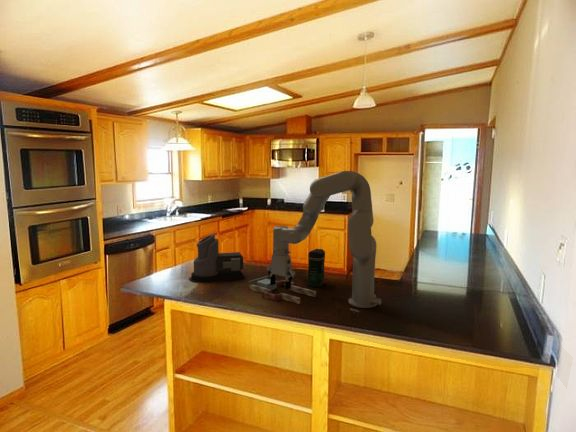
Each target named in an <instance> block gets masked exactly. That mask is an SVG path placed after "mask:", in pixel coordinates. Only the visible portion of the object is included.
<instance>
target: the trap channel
mask: <svg viewBox="0 0 576 432" xmlns="http://www.w3.org/2000/svg"><path fill="white" fill-rule="evenodd" d="M263 279H269V275H265V276H262V277H258V278H255V279H252V280H248V281H247V283H248V285H247V286H248V287H247V289H248V290H250V291H253V292H255V293H256V292H257V293H260V294H262V298H263V299H267V300H271V301H273V302H279V301H281V300H283V301H287V302H291V303H293V304H297V305H300V304H301V297H298V296H295V295H292V294H289V293H284V292H280V293H276V294H274V293H273V290H270V289H267V288H263V287H260V286H257V281H260V280H263ZM286 281H287V280H286V279H285V280H284V279H281V280H276V288H279V287H282V286H283V287H286ZM286 290H288V291H291V292H295V293H298V294H302V295H306V296H309V297H312V298H316V297H317V291H316V290H312V289H309V288H305V287H301V286H296V282H293V281H291V288H290V289H286Z"/></svg>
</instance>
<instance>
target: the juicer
mask: <svg viewBox="0 0 576 432" xmlns="http://www.w3.org/2000/svg"><path fill="white" fill-rule="evenodd" d="M215 237H216V234H215V233H212V234H209V235H207V236H205V237H203V238H202V239H201V240H199V241H198V242H197V244H196V247H197V257H196V258H194V260H193V272H191V276H190V277H189V278H188V280H189V282H190V283H193V284H194V283H195V284H196V283H197V284H199V283H201V284H202V283H204V284H206V283H215V282H219V281H220V280H221V281H232V280H231V279H235V280H243V279H242V278H246V276H245V275H244V274H243V272H242V271H243V269H244V256H243V254H241V252H237V251H236V252H219V238H215Z"/></svg>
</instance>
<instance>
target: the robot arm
mask: <svg viewBox="0 0 576 432" xmlns="http://www.w3.org/2000/svg"><path fill="white" fill-rule="evenodd" d="M348 191H349V192H351V209H352V213H351V214H350V216H349V218H348V222H347V233H348V246H349V251H350V252H349V253H350V254H351V255H352V256H353V259H352V282H351V283H352V285H351V286H352V287H351V289H352V290H351V297H349V299H347V301H348V304H349V305H350V306H352V307H354V308H355V307H356V308H361V309H370V308H375V307H376V306H377V305H379V306H380V305H382V298H379V297H378V298H377V295H376V294H375V292H374V291H375V276H376V275H375V270H376V269H375V268H376V256H377V255H376V254H377V241H376V238H375V237H374V236H373V235H372V226H373V224H374V214H373V202H372V201H373V200H372V192H371V186H370V183H369V182H368V180H367V178H366V177H365V176H363V175H362V174H360V173H358V172H357V171H354V170H342V171H339V172H338V171H337V172H336V173H332V174H329V175H325V176H323V177H319V178H316V179H315V178H314V180H313V181H312V182H311V183H310V186H309V194H308V196H307V197H306V199H305V200H304V203H303V204H302V215H301V217H300V219H299V221H298V222H297V224H296V226H294V227H290V228H289V227H288V226H286V225H277V226H274V227H273V228H272V229H273V233H272V240H273V241H272V255H271V260H270V265H268V266H267V267H266V270H267V274H268V277H269V278H270V285H274V284H276V281H277V280H276V279H277V276H279V277H284V279H285V280H286V286H285V290H287V289H290V288H291V282H292V280H293V279H295V276H296V272H295V271H294V270H293V268H292V267H293V266H292V259H291V255H290V254H291V250H290V244H291V245H297V244H299V243H301V242H303V241H304V240H306V239H307V238H308V236H309V235H310V233H311V232H312V230H313V228H314V227H315V224H316V223H317V220H318V218H319V215H320V213H321V212H322V210H323V209H324V207H325V206H326V203H327V202H328V200H329V198H330V197H331V196H334V195H336V194H341V193H344V192H348Z"/></svg>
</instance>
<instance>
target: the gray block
mask: <svg viewBox="0 0 576 432" xmlns="http://www.w3.org/2000/svg"><path fill="white" fill-rule="evenodd" d="M257 286H260V287H263V288H267V289H270V290H272V291H273V290H276V289H277V287H276V284H274V285H270V279H269V278H268V279H263V280H260V281H257Z"/></svg>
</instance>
